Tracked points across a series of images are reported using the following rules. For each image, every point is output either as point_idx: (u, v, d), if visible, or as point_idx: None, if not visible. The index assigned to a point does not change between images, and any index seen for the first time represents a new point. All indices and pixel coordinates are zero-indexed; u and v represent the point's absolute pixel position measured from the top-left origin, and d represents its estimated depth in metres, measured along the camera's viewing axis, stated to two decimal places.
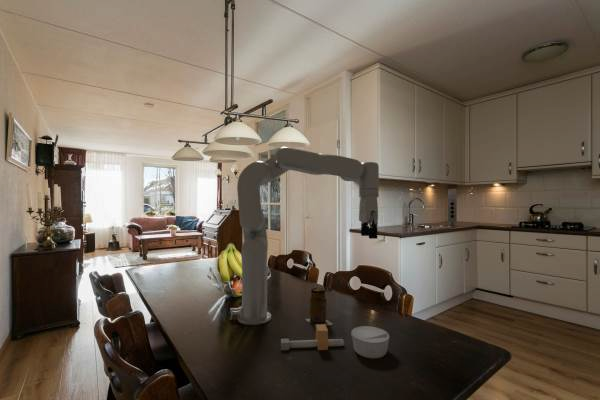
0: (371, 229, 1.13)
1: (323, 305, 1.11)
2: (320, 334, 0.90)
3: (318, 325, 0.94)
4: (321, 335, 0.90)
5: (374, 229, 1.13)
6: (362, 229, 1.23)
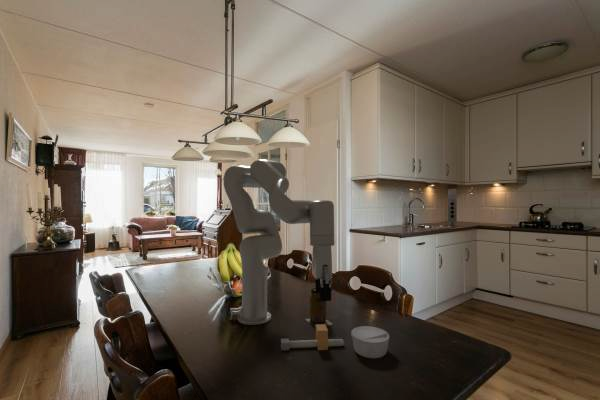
0: (323, 289, 0.87)
1: (323, 305, 1.11)
2: (320, 334, 0.90)
3: (318, 325, 0.94)
4: (321, 335, 0.90)
5: (326, 289, 0.87)
6: (316, 283, 0.97)
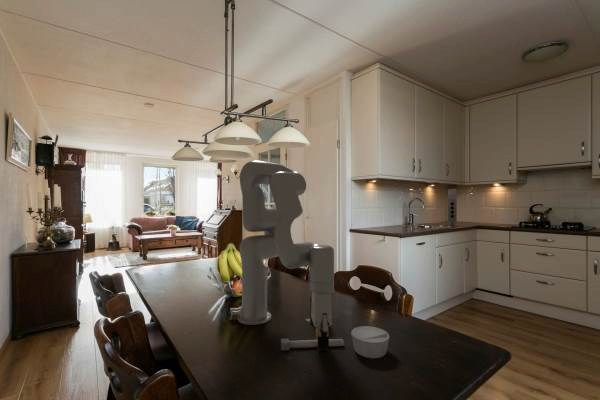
0: (320, 338, 0.89)
1: None
2: None
3: None
4: None
5: (324, 338, 0.89)
6: None
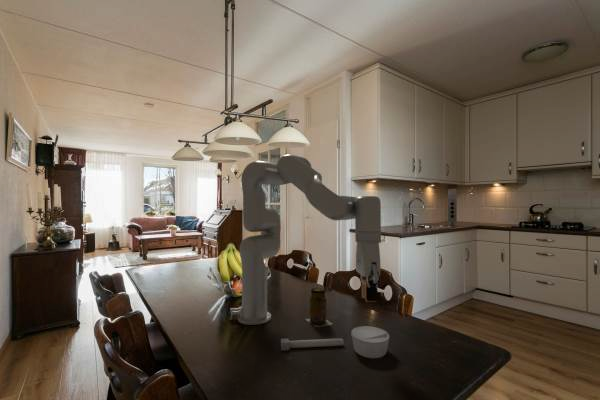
0: (369, 289, 0.87)
1: (323, 305, 1.11)
2: None
3: (364, 278, 0.92)
4: None
5: (373, 289, 0.87)
6: None
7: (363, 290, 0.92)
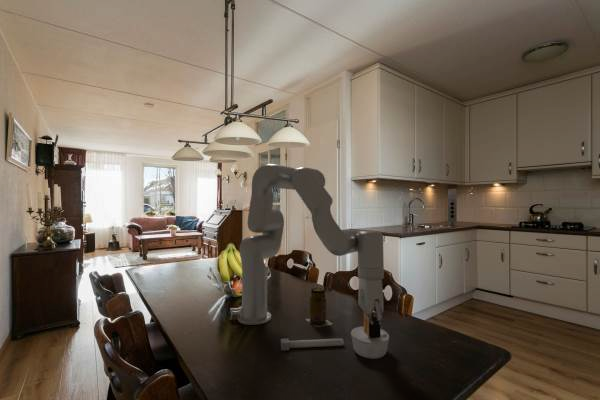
0: (372, 326, 0.86)
1: (323, 305, 1.11)
2: None
3: None
4: None
5: (376, 326, 0.86)
6: None
7: (365, 324, 0.91)
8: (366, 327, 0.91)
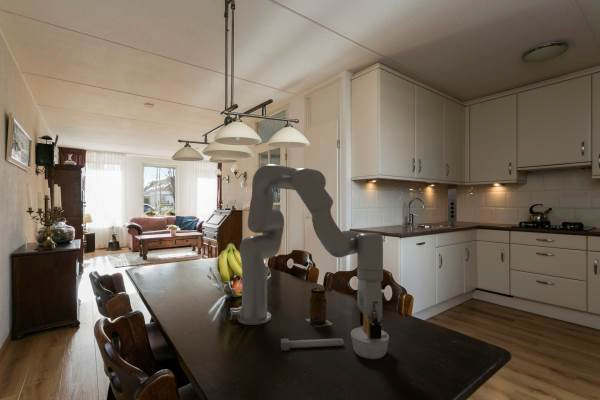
0: (373, 327, 0.85)
1: (323, 305, 1.11)
2: (370, 321, 0.87)
3: None
4: None
5: (377, 327, 0.84)
6: (361, 317, 0.95)
7: (365, 324, 0.91)
8: (366, 327, 0.91)
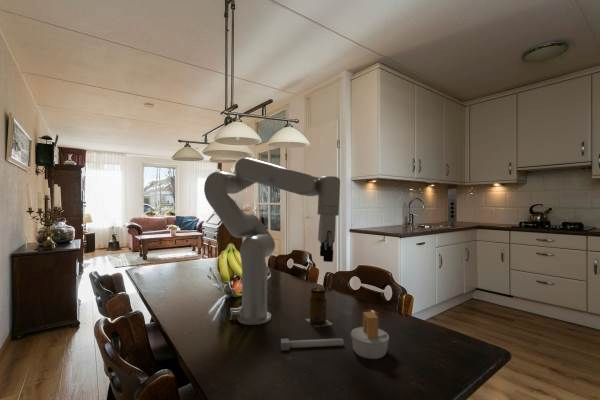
0: (326, 251, 1.02)
1: (323, 305, 1.11)
2: (370, 321, 0.87)
3: (366, 313, 0.91)
4: (371, 322, 0.87)
5: (329, 251, 1.02)
6: (321, 249, 1.12)
7: (364, 325, 0.91)
8: (365, 328, 0.91)
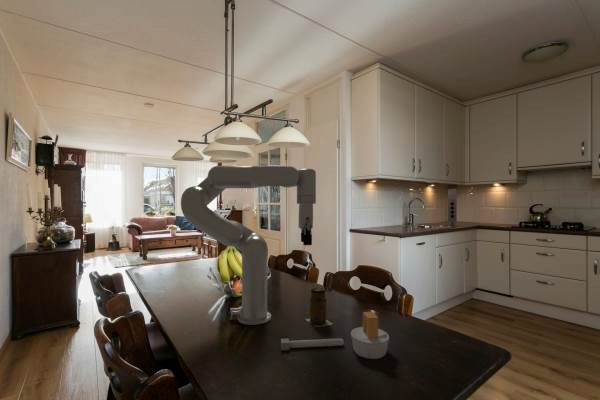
0: (305, 236, 1.13)
1: (323, 305, 1.11)
2: (370, 321, 0.87)
3: (366, 313, 0.91)
4: (371, 322, 0.87)
5: (308, 236, 1.13)
6: (302, 235, 1.23)
7: (364, 325, 0.91)
8: (365, 328, 0.91)
